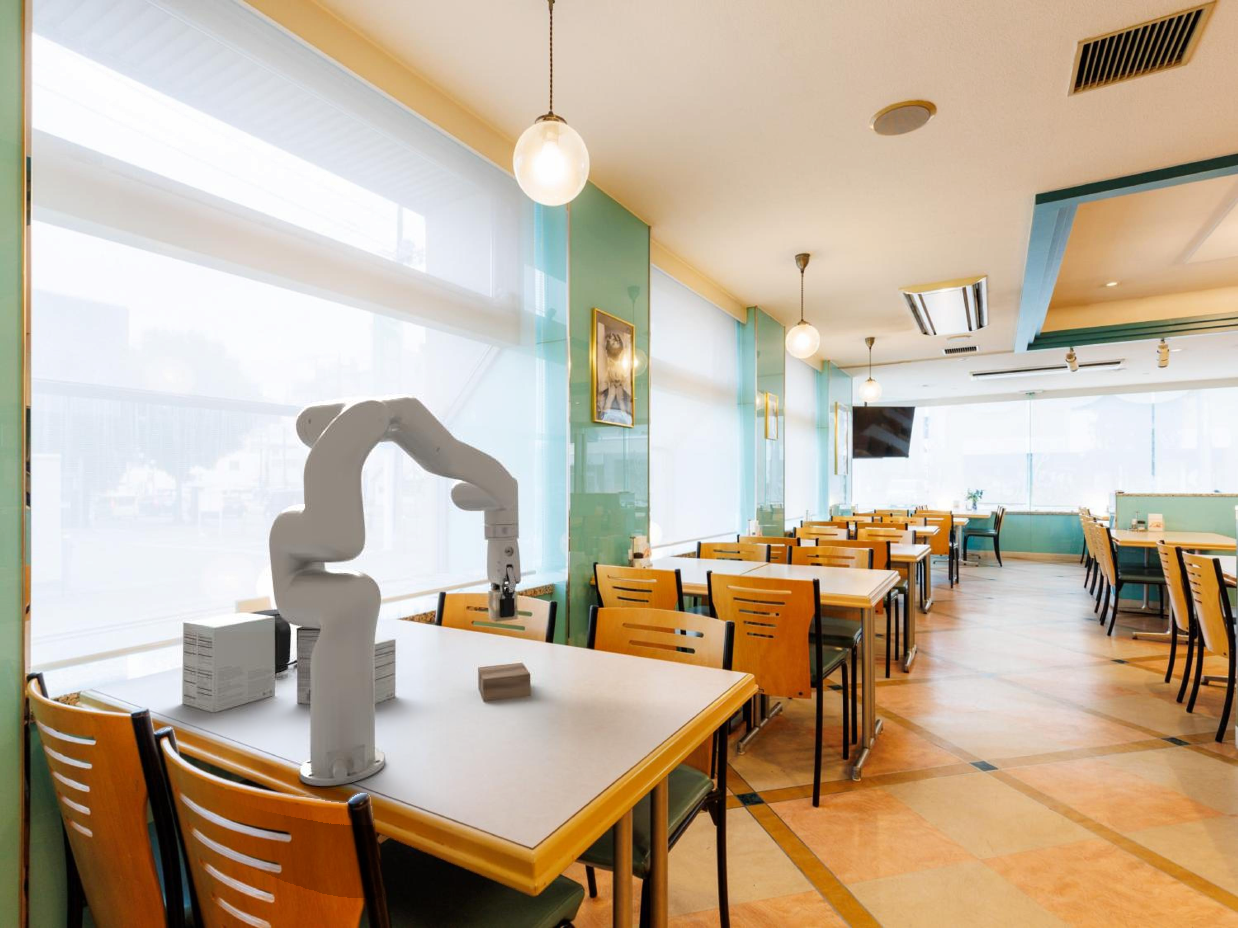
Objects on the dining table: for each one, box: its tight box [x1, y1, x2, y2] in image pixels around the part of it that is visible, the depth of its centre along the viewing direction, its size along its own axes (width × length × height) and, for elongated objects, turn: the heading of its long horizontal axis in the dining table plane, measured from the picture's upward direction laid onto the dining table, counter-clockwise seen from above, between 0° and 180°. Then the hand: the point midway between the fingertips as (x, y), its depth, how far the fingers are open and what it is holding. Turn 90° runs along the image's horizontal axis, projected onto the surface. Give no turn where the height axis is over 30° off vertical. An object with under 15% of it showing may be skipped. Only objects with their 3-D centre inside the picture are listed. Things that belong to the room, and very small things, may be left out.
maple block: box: [487, 588, 519, 622], centre depth 142 cm, size 5×5×6 cm
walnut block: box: [477, 662, 532, 703], centre depth 142 cm, size 10×10×5 cm
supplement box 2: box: [375, 636, 397, 705], centre depth 139 cm, size 7×7×13 cm
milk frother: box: [250, 608, 297, 673], centre depth 167 cm, size 14×16×15 cm
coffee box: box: [296, 626, 321, 705], centre depth 141 cm, size 9×6×16 cm
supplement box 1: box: [181, 611, 276, 713], centre depth 141 cm, size 13×13×18 cm
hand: (502, 613), depth 142 cm, fingers closed on maple block, 5 cm apart
